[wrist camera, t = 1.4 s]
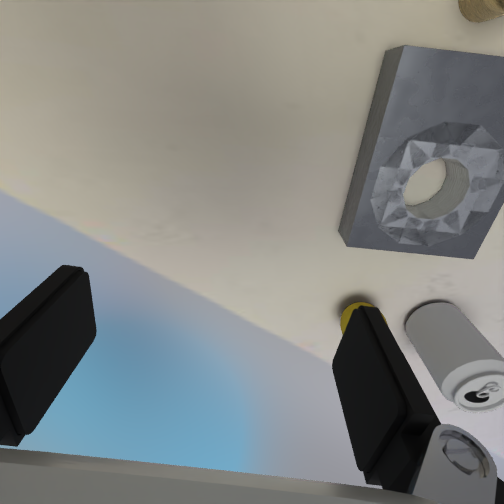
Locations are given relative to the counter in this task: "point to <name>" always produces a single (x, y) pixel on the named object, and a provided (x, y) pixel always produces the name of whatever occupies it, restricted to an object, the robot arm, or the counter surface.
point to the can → (458, 357)
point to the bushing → (481, 9)
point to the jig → (430, 154)
